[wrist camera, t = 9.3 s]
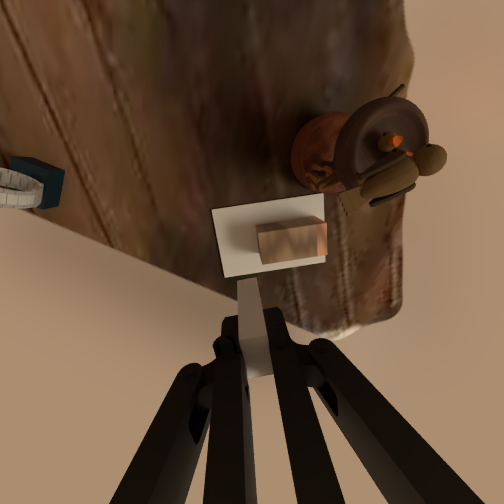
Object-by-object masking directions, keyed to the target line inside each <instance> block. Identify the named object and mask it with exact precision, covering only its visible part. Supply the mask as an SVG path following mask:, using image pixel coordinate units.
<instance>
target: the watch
mask: <svg viewBox="0 0 504 504" xmlns="http://www.w3.org/2000/svg"><path fill="white" fill-rule="evenodd" d="M64 173H65V170H62V169H60V168H57V167H55V166H52V165H50V164H47V163H45V162H42V161H40V160H37V159H35V158H32V157H12V164H11V170H8V169H5V168H1V167H0V175H1V180H0V185H1V186H6V185H7V187H9V189H3V188H0V207H1V205H2V208H31V207H33V208H35V207H37V208H40V209H47V208H52V207H56V206H59V201H60V196H61V190H62V185H63V179H64ZM6 196H7V199H6Z"/></svg>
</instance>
